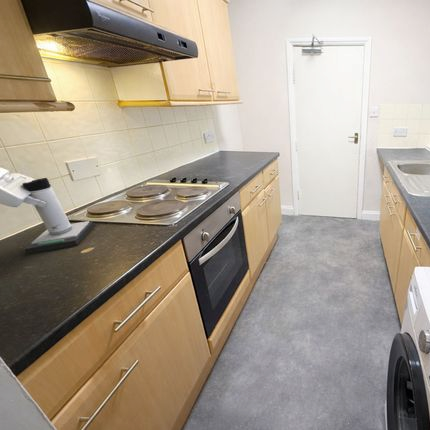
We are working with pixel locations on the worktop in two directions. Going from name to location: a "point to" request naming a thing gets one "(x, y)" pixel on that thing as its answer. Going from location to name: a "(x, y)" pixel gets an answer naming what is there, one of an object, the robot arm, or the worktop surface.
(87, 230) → the kitchen scale
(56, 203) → the travel mug
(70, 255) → the worktop surface
